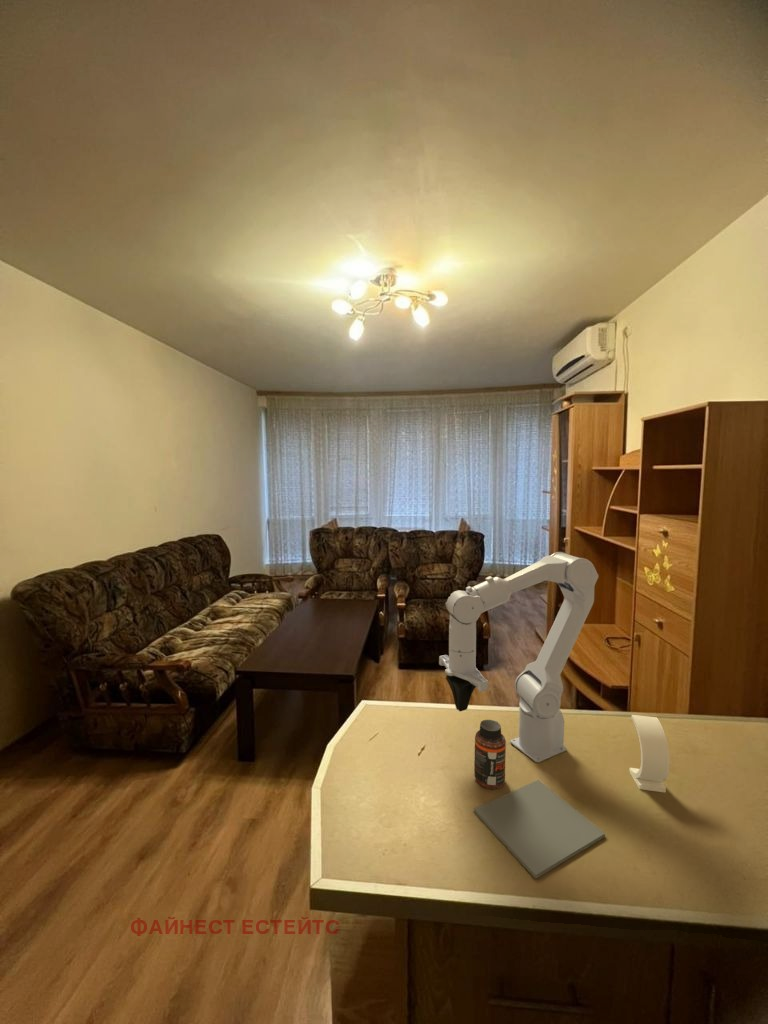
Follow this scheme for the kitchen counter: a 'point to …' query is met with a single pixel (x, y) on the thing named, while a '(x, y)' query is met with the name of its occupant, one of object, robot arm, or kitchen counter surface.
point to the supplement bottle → (490, 755)
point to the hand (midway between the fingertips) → (461, 708)
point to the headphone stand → (651, 754)
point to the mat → (538, 827)
